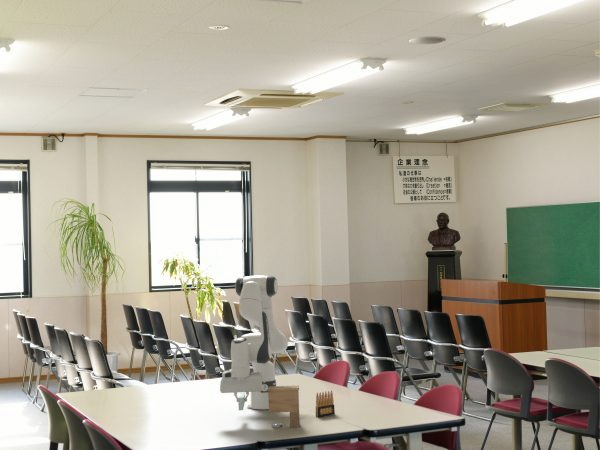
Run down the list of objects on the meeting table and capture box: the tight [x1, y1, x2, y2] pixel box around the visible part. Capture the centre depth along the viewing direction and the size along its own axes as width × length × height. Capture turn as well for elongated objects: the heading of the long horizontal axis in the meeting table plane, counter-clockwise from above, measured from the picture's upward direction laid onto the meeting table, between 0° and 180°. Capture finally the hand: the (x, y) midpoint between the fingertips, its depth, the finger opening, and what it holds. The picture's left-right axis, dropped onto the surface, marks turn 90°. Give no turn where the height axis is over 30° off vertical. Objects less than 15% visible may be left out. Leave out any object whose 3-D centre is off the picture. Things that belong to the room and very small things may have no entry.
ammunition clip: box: [315, 390, 336, 419], centre depth 440 cm, size 11×2×12 cm, turn 127°
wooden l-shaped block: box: [268, 385, 301, 428], centre depth 419 cm, size 7×15×18 cm, turn 91°
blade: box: [237, 392, 246, 411], centre depth 426 cm, size 22×2×4 cm, turn 1°
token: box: [271, 422, 283, 428], centre depth 418 cm, size 5×5×1 cm
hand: (241, 401), depth 426 cm, fingers closed on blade, 2 cm apart
